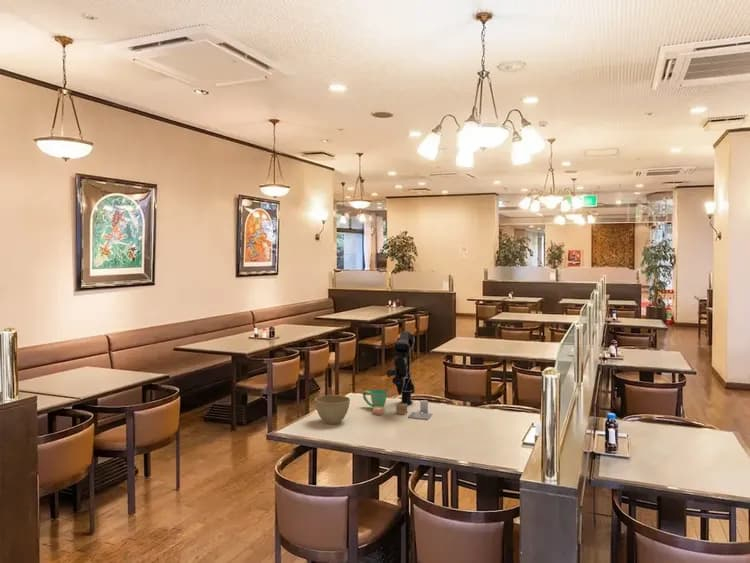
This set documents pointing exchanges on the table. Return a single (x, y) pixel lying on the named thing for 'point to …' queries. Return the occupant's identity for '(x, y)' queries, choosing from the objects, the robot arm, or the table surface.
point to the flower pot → (332, 408)
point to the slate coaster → (420, 415)
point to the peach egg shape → (378, 410)
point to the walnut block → (401, 408)
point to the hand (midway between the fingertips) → (401, 392)
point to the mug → (376, 397)
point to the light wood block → (424, 406)
